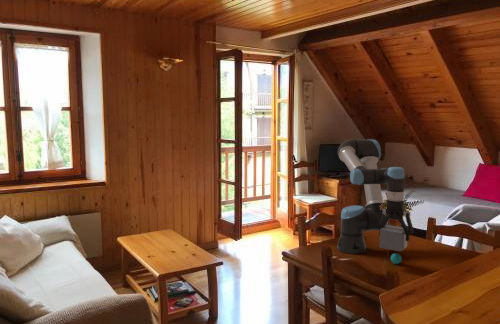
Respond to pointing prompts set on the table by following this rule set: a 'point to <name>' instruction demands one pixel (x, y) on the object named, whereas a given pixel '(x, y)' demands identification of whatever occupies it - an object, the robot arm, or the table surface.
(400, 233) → the dark grey block
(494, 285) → the table surface
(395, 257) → the ball
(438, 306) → the table surface
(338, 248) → the robot arm
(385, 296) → the table surface
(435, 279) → the table surface
